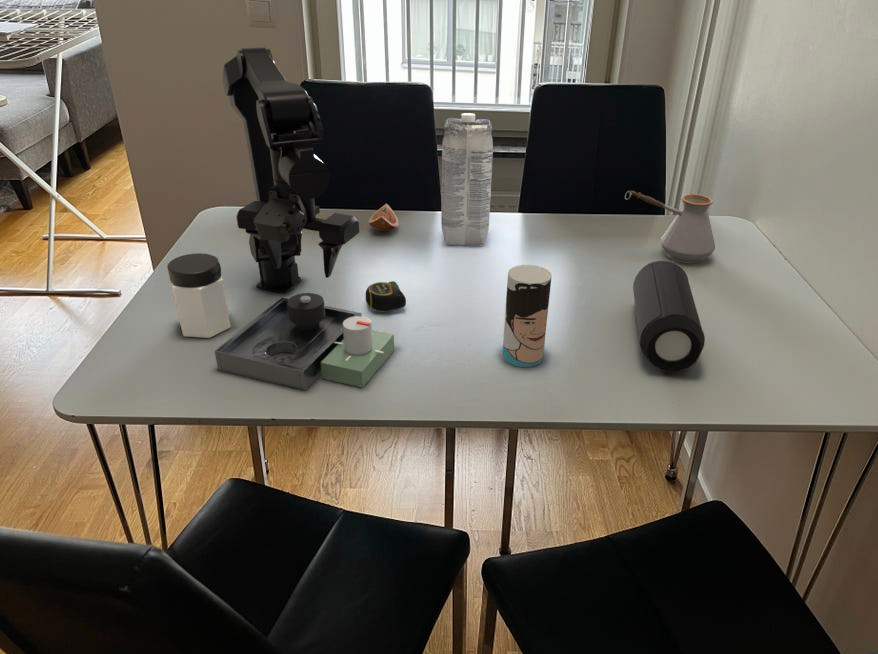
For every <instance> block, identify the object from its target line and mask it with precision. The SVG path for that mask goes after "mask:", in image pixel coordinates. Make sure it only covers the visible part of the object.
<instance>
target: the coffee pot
mask: <svg viewBox="0 0 878 654" xmlns="http://www.w3.org/2000/svg"><path fill="white" fill-rule="evenodd" d="M627 194H629V197H628V198H627ZM631 196H634V197H636V199H641V200H642V201H644V202H645V203H646V204H647V203H648V204H650V205H652V206H656V207H658V208H661V209H664V210H665V211H666V210H667V211H668V212H670V213H673V214H675V215H676V216H675V217H674V219H673V221H672V222H671V224H670V225H669V226H668V227H667V229H666V230H665V232H664V233H663V235H662V236H661V238H660V247H661V248H662V250H663V252H664V253H665V254H666V255H667V256H668V257H669V258H670V259H672V260H673V261H675V262H678V263H679V262H680V263H685V264H695V263H696V264H697V263H701V262H702V261H703V260H705V259H707V258H709V257H710V256H712V255H713V253H714V251H715V250H716V242H715V238H714V234H713V230H712V224H711V220H710V215H709V208H710V206H711V205H713V203H714V201H713V198H711V197H709V196H708V195H707V196H706V195H703V194H696V193H687V194H683V195H682V196H681V197H680V200H681V202H682V208H681V209H680V210H679V209H677V208H674V207H672V206H669V205H668V204H665V203H663V202H662V201H659V200H657V199H655V198H653V197H651V196H648V195H645V194H642V193H641V192H636V191H635V190H627V191H626V192H625V195H624V199H625V201H628V200H630V199H631Z"/></svg>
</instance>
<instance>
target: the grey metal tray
mask: <svg viewBox="0 0 878 654" xmlns="http://www.w3.org/2000/svg"><path fill="white" fill-rule="evenodd" d="M288 299H289V297H288V298H287V297H282V296H281V298H278V300H277V301H275V302H274V303H273V304H272V305H271V306H269V307H268V308H267V309H265V310H264V311H263V312H262V313H260V314H259V315H258V316H256V318H254V319H253V320H252V321H250V322H249V323H248V324H247V325H245V326H243V328H242V329H240V330H239V331H238V332H237V333H235V334H234V335H233V336H232V337H230V338H229V339H228V340H226V341H225V342H224V343H223V344H221V345H220V346H219V347H218V348H216V349H215V350H214V356H215V357H214V358H215V362H216V368H217V371H222V372H225V373H230V374H234V375H238V376H242V377H245V378H250V379H255V380H260V381H265V382H268V383H273V384H276V385H281V386H285V387H289V388H294V389H298V390H301V391H307V390H308V389H309V387H311V385H313V383H314V382H315V381H316V380H317V379H318V378H319V377H321V376H322V372H321V362H322V361H323V360H324V358H325V357H326V356H327V355H328V354H329V353H330V352H331V351H332V350H333V349H334V348H335V347H336V346H337V345H338V344H335V343H334V342H341V341H342V340H343V339H344V335H343V327H342V328H341V329H340V330H339V331H338V332H337V333H336V334H335V335H334V336H333V337H332V338H331V339H330V340H329V341H328V342H327V343H326V344H325V345H324V346H323V347H322V348H321V349H320V350H319V351H318V352H317V353H316V354H315V355H314V356H313V357H312V358H311V359H310V360H309V361H308V362H307V363H306V364H305V365H304V366H303V367H302V368H300V367H295V366H291V365H286V364H282V363H277V362H273V361H269V360H264V359H260V358H255V357H251V356H247V355H242V354H238V353H233V352H231V351H232V350H234V349H235V348H236V347H237V346H238V345H240V344H241V343H242V342H243V341H245V340H246V339H247V338H248V337H249V336H251V335H252V334H253V333H254V332H255V331H257V330H258V329H259V328H260V327H262V326H263V325H264V324H265V323H266V322H268V321H269V320H270V319H271V318H272V317H274V316H275V315H276V314H277V313H279V312H280V311H281V310H282V309H283V308H288V306H287V301H288ZM324 307H325V316H329V317H333V318H338V319H343V320H346V319H347V318H350V317H354V316H362V317H363V315H362V312H357V311H354V310H348V309H343V308H337V307H333V306H328V305H324Z"/></svg>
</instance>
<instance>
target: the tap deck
mask: <svg viewBox="0 0 878 654" xmlns="http://www.w3.org/2000/svg"><path fill="white" fill-rule="evenodd" d="M334 343H335V344H338V345H337V346H336V347H335V348H334V349H333V350H332V351H331V352H330V353H329V354H328V355H327V356H326V357H325V358H324V360H323V361H322V362H321V372H322V374H321V378H322V379H323V380H327V381H331V382H336V383H339V384H344V385H349V386H353V387H357V388H361V389H362V388H364V387H365V386H366V384H368V382H369V381H370V380H371V379H372V378H373V376H374V375H375V374H376V373H377V372H378V370H379V369H380V368H381V367H382V365H384V363H385V362H386V360H387V359H388V358H390V356H391V355H392V353H393V352H394V351H395V334H394V333H389V332H385V331H379V330H376V329H375V330H374V329H372V350H371V351H369V352H368V353H365V354H361V355H354V354H350V353H348V352H346V351H345V348H344V339H343V340H342V341H341V342H334Z"/></svg>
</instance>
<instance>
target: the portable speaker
mask: <svg viewBox="0 0 878 654" xmlns="http://www.w3.org/2000/svg"><path fill="white" fill-rule="evenodd" d="M632 284H633V285H632V293H633V298H634V299H633V300H634V307H635V317H636V323H637V324H636V325H637V331H638V332H637V333H638V340H639V346H640V350H641V352H642V355H643V356H644V357H645V359H646V360H647V362H649V363H650V364H652V365H653V366H654V368H657V369H658V370H660V371H664V372H668V373H677V372H682V371H685V370H687V369H688V368H690V367H692V366H693V365H694V364H695V363H697V361H698V360H699V358H700V357H701V354H702V352H703V350H704V348H705V343H706V342H705V341H706V340H705V338H706V337H705V333H704V331H703V327H702V324H701V321H700V316H699V312H698V309H697V306H696V303H695V299H694V297H693V296H694V295H693V292H692V289H691V285H690V282H689V277H688V275H687V272H686V271H685V270H684V268H682V267H681V266H680V265H678V264H677V263H674V262H672V261H669V260H667V259H658V260H653V261H651V262H649V263H647V264H646V265H644V266H643V267H642V268H641V269H640V270H639V271H638V273H637V274H636V276H635V278H634V280H633V283H632Z"/></svg>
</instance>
